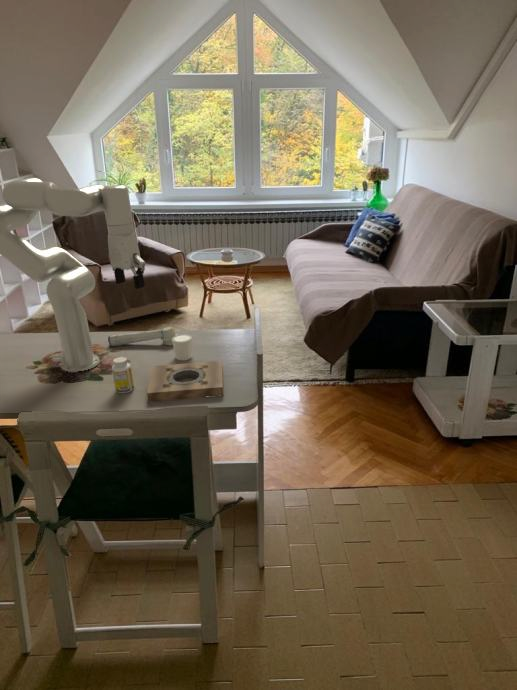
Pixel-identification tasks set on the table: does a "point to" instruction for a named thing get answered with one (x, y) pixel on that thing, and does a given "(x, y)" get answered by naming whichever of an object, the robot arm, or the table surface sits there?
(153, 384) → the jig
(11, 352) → the table surface
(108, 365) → the table surface
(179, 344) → the beige cylinder
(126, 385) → the supplement bottle
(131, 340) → the grey elongated piece
